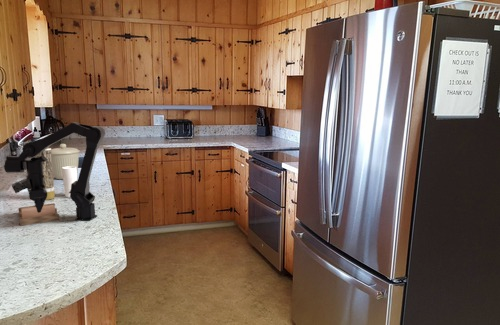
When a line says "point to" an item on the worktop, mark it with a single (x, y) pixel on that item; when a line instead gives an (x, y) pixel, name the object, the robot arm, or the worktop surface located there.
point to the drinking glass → (69, 178)
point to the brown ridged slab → (38, 217)
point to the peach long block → (33, 212)
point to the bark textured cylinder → (48, 173)
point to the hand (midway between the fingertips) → (38, 209)
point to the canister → (63, 159)
